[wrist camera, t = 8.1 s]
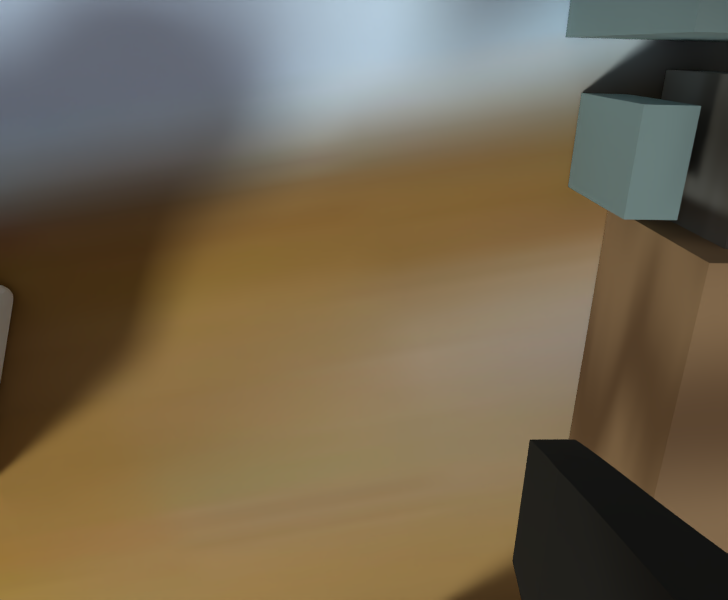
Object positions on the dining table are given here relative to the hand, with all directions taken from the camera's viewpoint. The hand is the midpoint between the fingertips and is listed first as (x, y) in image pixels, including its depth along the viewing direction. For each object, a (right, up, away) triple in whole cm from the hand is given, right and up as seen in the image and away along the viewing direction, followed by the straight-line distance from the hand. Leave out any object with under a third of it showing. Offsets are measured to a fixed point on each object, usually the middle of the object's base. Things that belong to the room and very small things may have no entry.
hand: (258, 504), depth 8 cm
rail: (+10, +3, +10) cm, 14 cm away
